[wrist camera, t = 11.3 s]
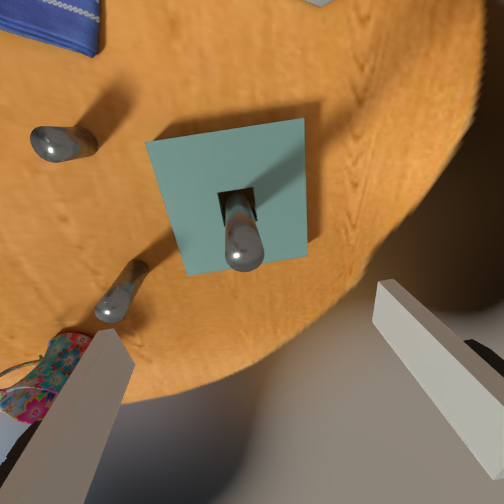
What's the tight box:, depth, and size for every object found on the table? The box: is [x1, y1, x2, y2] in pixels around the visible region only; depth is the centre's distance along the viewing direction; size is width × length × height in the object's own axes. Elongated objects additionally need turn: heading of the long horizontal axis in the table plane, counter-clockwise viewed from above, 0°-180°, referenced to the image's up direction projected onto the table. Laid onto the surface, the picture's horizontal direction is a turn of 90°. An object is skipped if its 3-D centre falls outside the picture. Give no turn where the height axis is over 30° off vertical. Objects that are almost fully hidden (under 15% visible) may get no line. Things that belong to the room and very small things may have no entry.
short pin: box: [30, 126, 98, 163], centre depth 25 cm, size 3×3×6 cm
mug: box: [0, 333, 93, 424], centre depth 37 cm, size 12×9×11 cm
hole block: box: [145, 118, 308, 276], centre depth 32 cm, size 18×18×3 cm
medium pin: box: [94, 260, 149, 323], centre depth 32 cm, size 3×3×10 cm
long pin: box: [225, 190, 265, 272], centre depth 26 cm, size 3×3×16 cm
